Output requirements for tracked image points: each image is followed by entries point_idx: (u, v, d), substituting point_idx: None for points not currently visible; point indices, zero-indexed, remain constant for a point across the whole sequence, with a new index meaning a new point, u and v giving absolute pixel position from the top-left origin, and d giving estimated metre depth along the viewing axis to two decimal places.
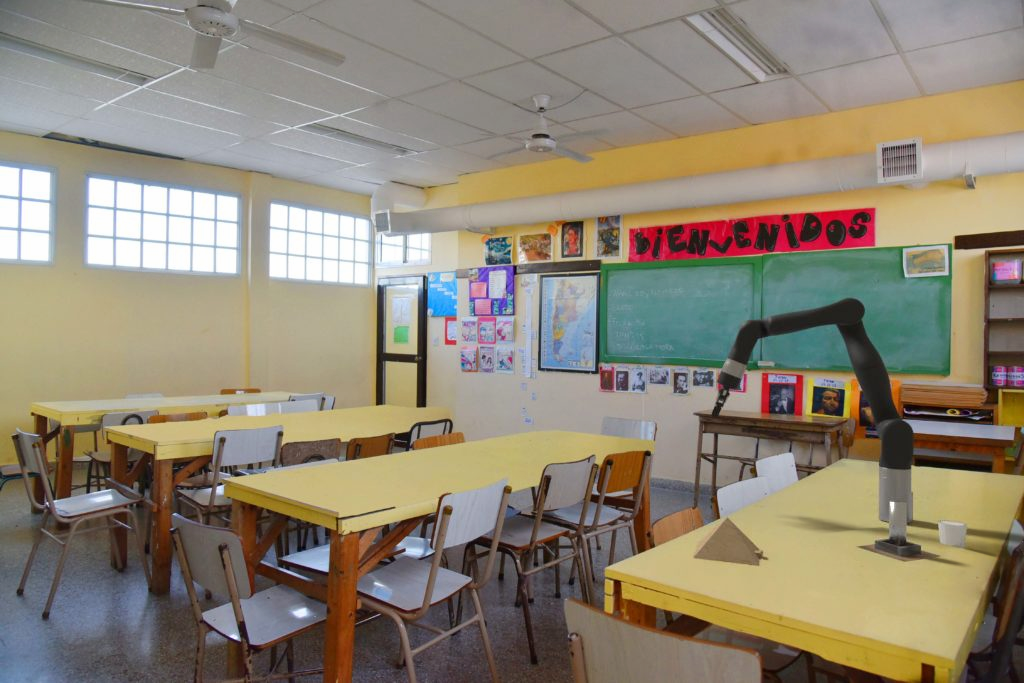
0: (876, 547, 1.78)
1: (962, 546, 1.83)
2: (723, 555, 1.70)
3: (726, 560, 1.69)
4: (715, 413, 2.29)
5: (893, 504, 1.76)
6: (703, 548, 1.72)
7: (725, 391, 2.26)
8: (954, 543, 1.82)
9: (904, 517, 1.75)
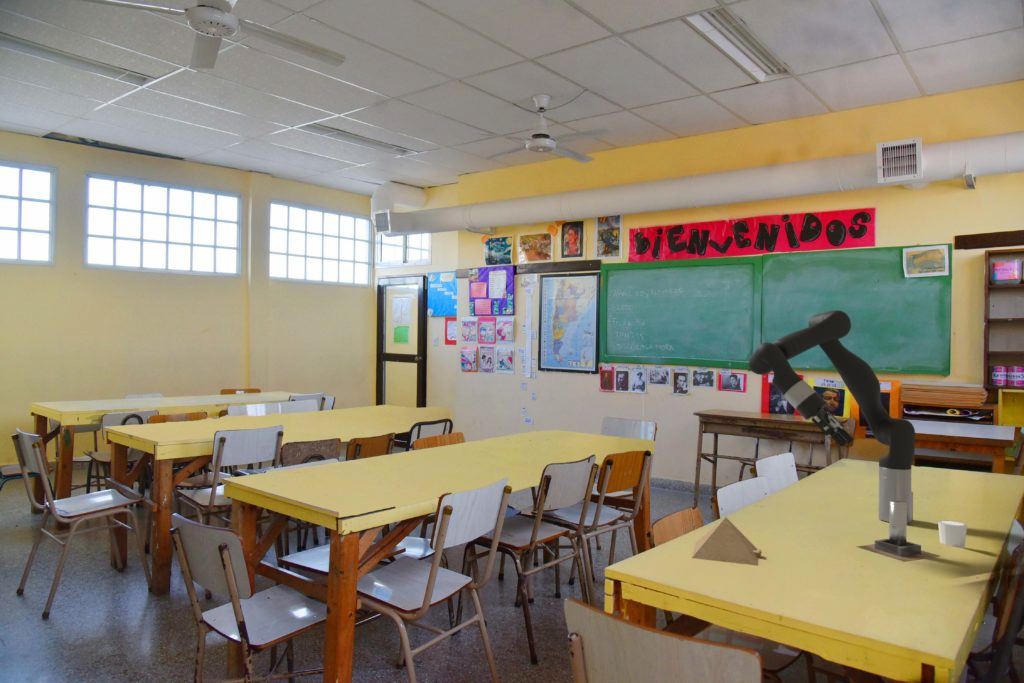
0: (876, 547, 1.78)
1: (962, 546, 1.83)
2: (722, 555, 1.70)
3: (725, 559, 1.69)
4: (840, 440, 1.82)
5: (893, 504, 1.76)
6: (702, 548, 1.72)
7: (816, 417, 1.84)
8: (954, 543, 1.82)
9: (904, 517, 1.75)
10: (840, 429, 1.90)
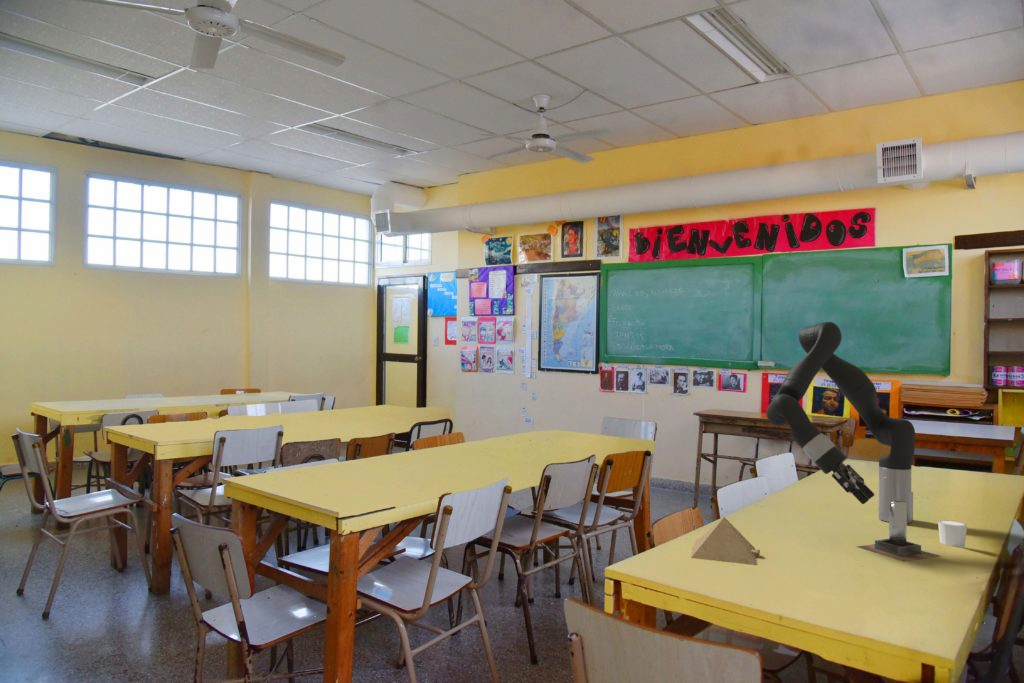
0: (876, 547, 1.78)
1: (962, 546, 1.83)
2: (721, 555, 1.70)
3: (724, 559, 1.69)
4: (861, 498, 1.78)
5: (893, 504, 1.76)
6: (701, 548, 1.72)
7: (836, 473, 1.80)
8: (954, 543, 1.82)
9: (904, 517, 1.75)
10: (860, 483, 1.86)
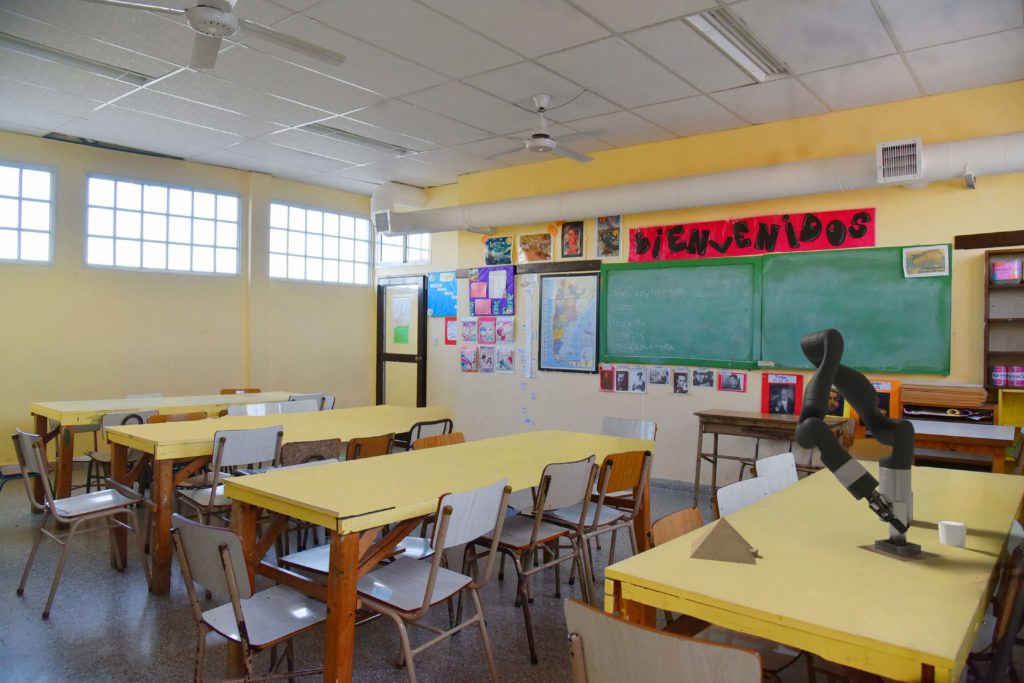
0: (876, 547, 1.78)
1: (962, 546, 1.83)
2: (720, 554, 1.70)
3: (723, 559, 1.69)
4: (900, 528, 1.74)
5: (893, 504, 1.76)
6: (699, 548, 1.73)
7: (874, 505, 1.74)
8: (954, 543, 1.82)
9: (904, 517, 1.75)
10: None
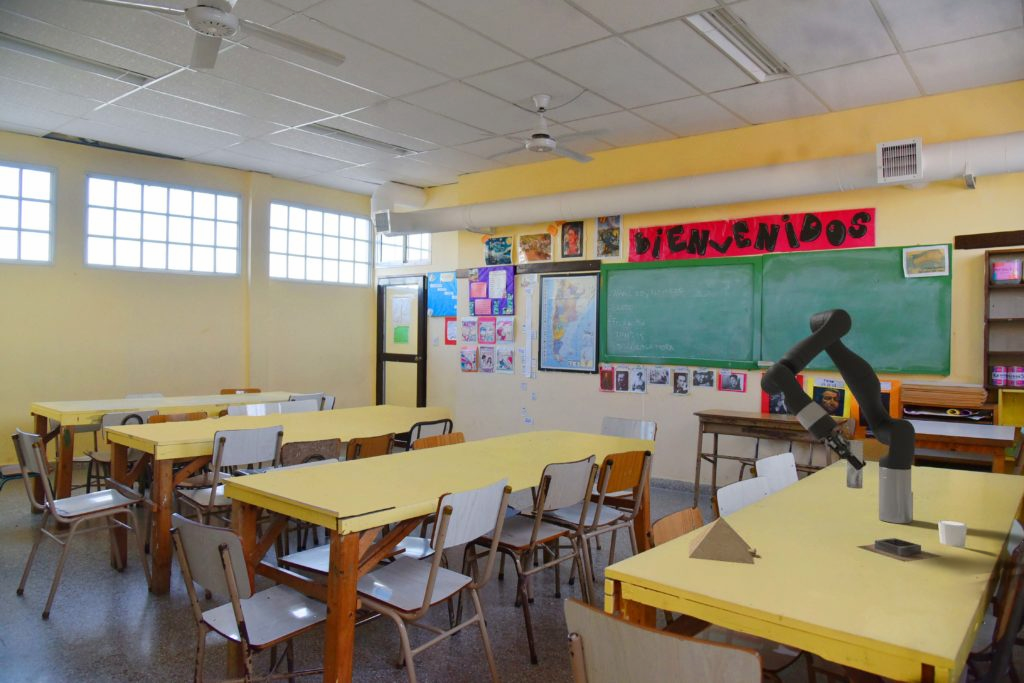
0: (876, 547, 1.78)
1: (962, 546, 1.83)
2: (718, 554, 1.70)
3: (722, 559, 1.69)
4: (856, 464, 1.85)
5: (850, 442, 1.86)
6: (698, 548, 1.73)
7: (832, 443, 1.85)
8: (954, 543, 1.82)
9: (860, 454, 1.85)
10: None
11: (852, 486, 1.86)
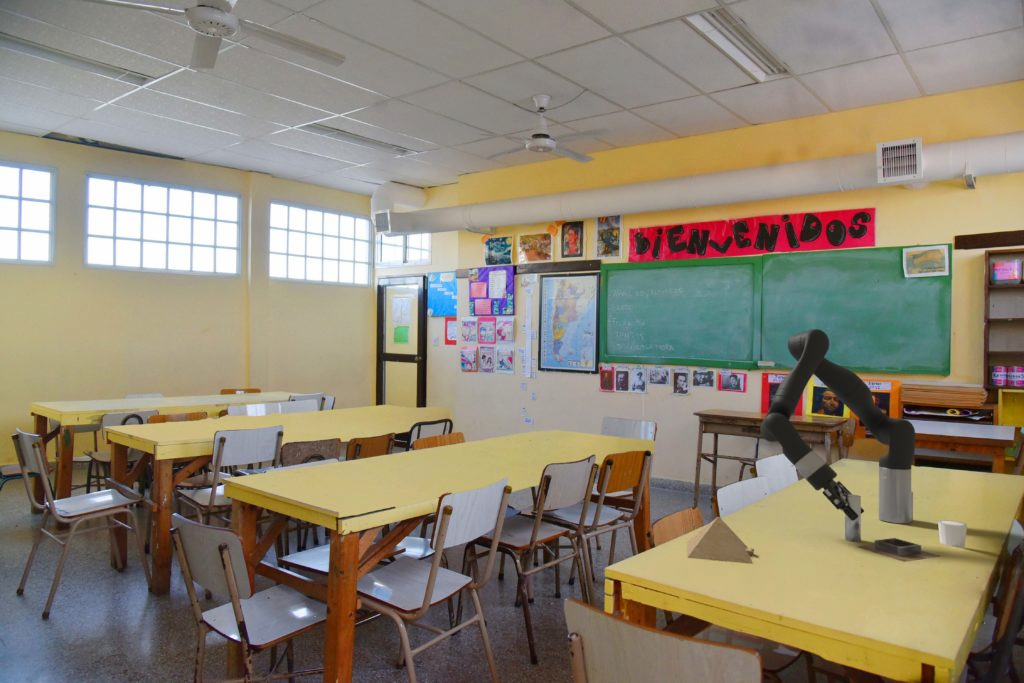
0: (876, 547, 1.78)
1: (962, 546, 1.83)
2: (717, 554, 1.71)
3: (720, 558, 1.70)
4: None
5: (848, 497, 1.86)
6: (696, 548, 1.73)
7: (826, 491, 1.85)
8: (954, 543, 1.82)
9: (858, 510, 1.85)
10: None
11: (850, 541, 1.86)
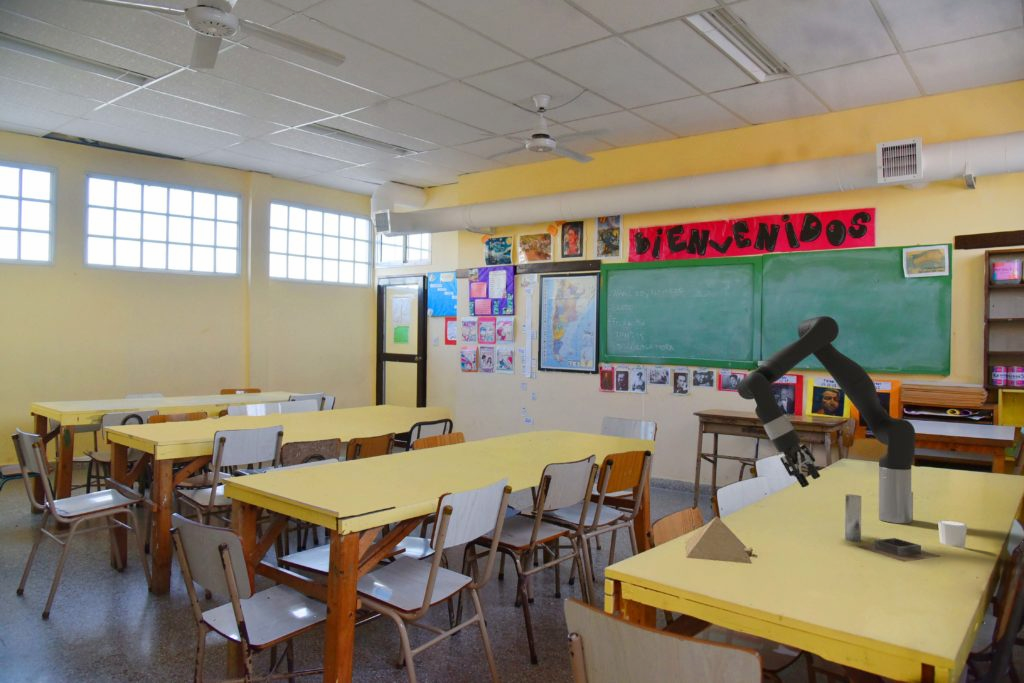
0: (876, 547, 1.78)
1: (962, 546, 1.83)
2: (716, 554, 1.71)
3: (719, 558, 1.70)
4: (802, 482, 1.95)
5: (848, 497, 1.86)
6: (695, 547, 1.73)
7: (784, 457, 1.95)
8: (954, 543, 1.82)
9: (859, 510, 1.85)
10: (810, 464, 2.01)
11: (850, 541, 1.86)
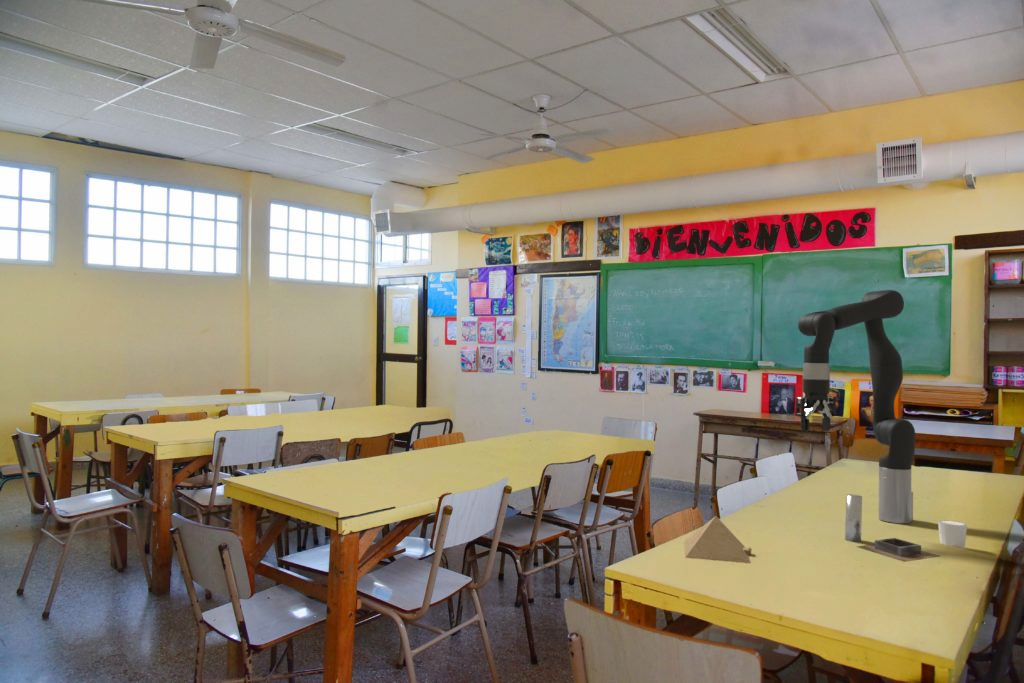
0: (876, 547, 1.78)
1: (962, 546, 1.83)
2: (715, 553, 1.71)
3: (718, 558, 1.70)
4: None
5: (849, 498, 1.86)
6: (694, 547, 1.73)
7: (799, 398, 2.01)
8: (954, 543, 1.82)
9: (859, 510, 1.85)
10: (826, 416, 2.05)
11: (850, 541, 1.86)
